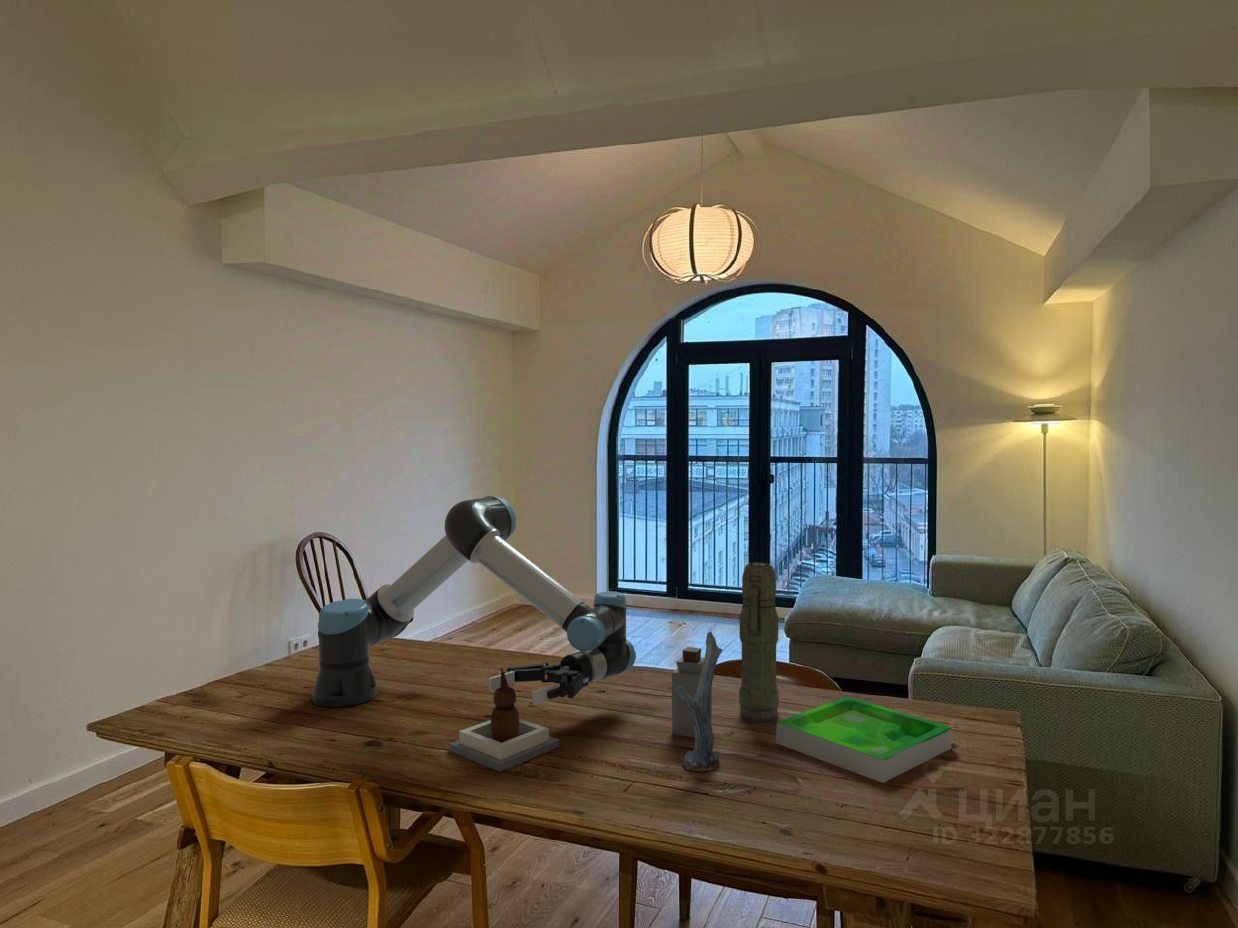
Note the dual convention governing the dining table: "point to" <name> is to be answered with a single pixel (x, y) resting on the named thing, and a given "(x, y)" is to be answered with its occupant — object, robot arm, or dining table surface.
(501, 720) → the wooden figurine
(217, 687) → the dining table surface
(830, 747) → the tray
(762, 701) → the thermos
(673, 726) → the perfume bottle
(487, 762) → the socket plinth
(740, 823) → the dining table surface
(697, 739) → the antler
